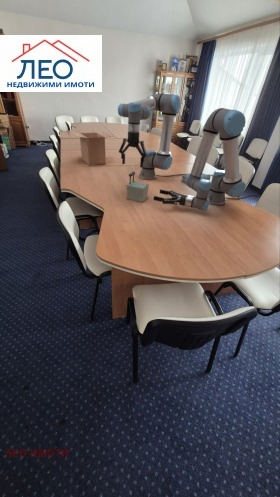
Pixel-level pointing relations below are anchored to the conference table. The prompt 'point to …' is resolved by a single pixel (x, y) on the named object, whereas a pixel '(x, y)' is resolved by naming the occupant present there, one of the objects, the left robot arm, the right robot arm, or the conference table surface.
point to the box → (92, 146)
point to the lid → (136, 183)
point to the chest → (137, 194)
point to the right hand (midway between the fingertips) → (156, 194)
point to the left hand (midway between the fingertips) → (132, 165)
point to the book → (200, 178)
